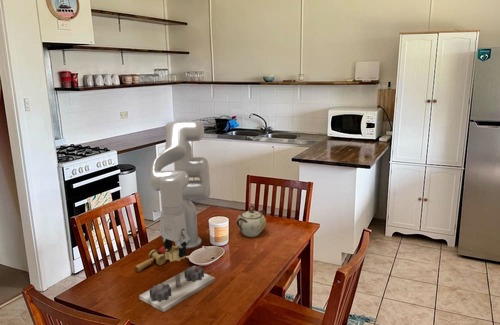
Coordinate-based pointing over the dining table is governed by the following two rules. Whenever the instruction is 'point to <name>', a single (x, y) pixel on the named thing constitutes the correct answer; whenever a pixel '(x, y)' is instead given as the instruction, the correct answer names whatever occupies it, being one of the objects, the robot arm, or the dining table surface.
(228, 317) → the dining table surface
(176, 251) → the brass gear
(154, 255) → the kendama
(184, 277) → the gear board
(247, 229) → the teapot
